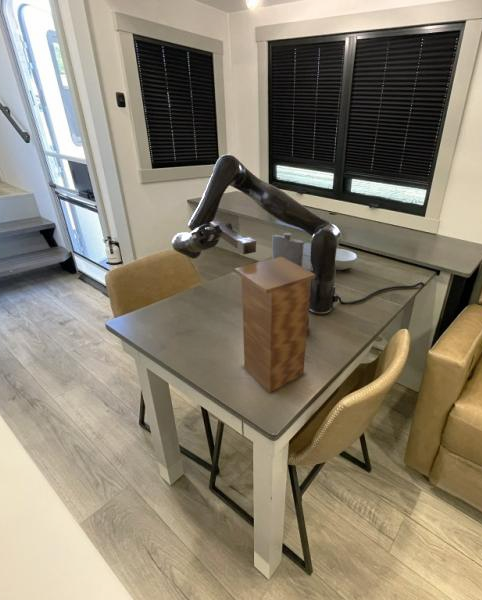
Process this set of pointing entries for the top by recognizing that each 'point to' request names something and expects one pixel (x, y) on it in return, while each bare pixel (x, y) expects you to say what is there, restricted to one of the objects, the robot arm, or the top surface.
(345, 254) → the cereal bowl
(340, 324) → the top surface
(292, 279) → the oak stand
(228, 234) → the handle stick
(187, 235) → the robot arm
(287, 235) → the hip flask
